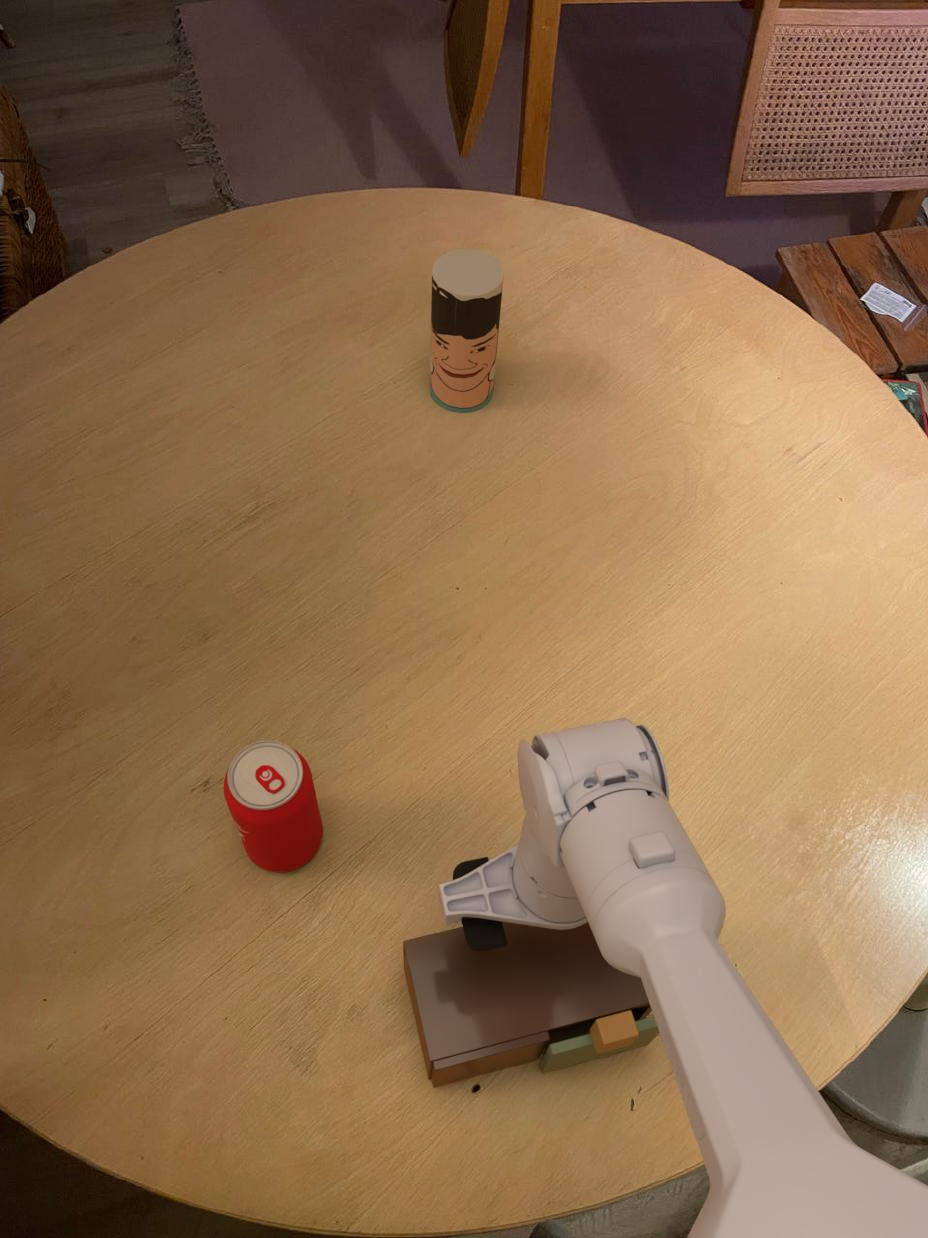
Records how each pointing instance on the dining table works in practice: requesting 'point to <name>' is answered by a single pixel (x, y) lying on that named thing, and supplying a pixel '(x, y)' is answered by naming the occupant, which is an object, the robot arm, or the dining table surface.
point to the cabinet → (510, 996)
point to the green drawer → (601, 1041)
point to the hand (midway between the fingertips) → (543, 922)
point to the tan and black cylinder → (464, 329)
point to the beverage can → (274, 805)
